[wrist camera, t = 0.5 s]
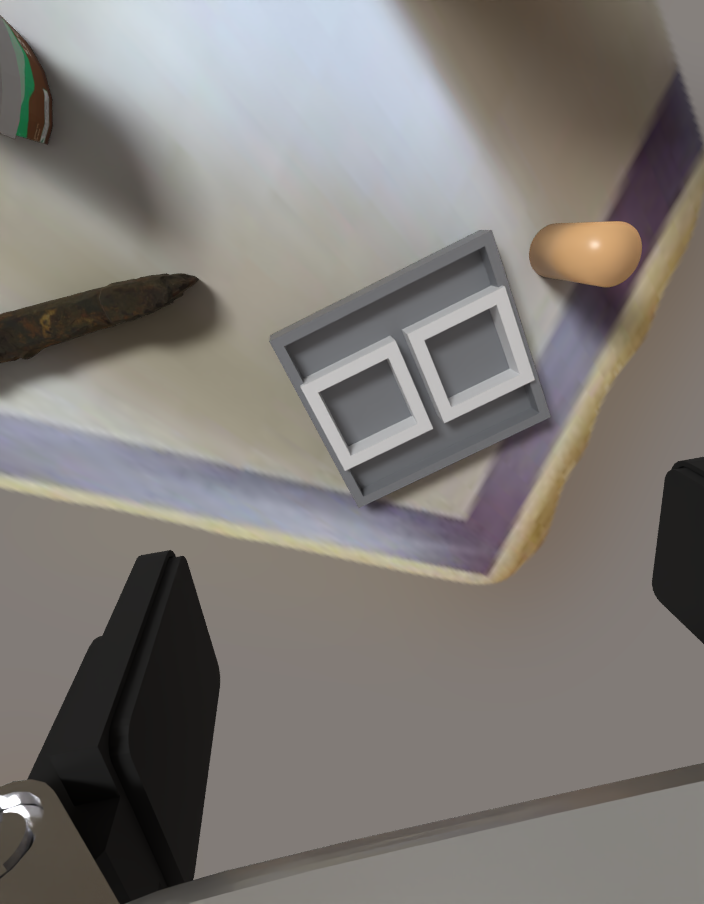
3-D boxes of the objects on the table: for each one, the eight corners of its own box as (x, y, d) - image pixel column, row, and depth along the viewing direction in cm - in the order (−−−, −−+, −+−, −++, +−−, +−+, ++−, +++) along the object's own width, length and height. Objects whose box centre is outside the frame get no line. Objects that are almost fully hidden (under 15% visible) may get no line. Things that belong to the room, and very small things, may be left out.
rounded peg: (523, 237, 40) (576, 238, 33) (570, 214, 40) (634, 210, 33) (537, 286, 42) (591, 297, 35) (583, 263, 42) (647, 270, 35)
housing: (269, 335, 41) (269, 342, 38) (479, 230, 40) (494, 230, 37) (355, 494, 47) (359, 510, 45) (537, 407, 46) (553, 418, 44)
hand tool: (-32, 376, 40) (-69, 393, 35) (-61, 324, 38) (-103, 336, 34) (211, 314, 40) (203, 324, 36) (193, 260, 39) (183, 264, 34)
